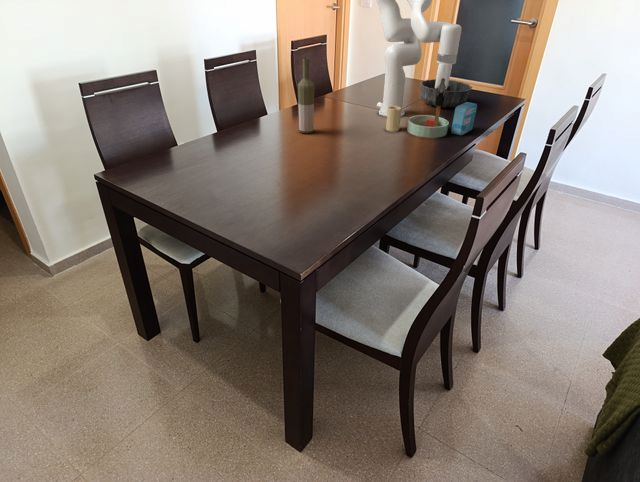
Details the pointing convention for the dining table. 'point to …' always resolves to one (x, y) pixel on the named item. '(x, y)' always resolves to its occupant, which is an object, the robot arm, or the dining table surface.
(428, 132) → the bowl
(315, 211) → the dining table surface
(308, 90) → the bottle
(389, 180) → the dining table surface
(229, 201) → the dining table surface
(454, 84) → the bundt pan
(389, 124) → the crock
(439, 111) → the stick
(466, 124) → the data package
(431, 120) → the block
